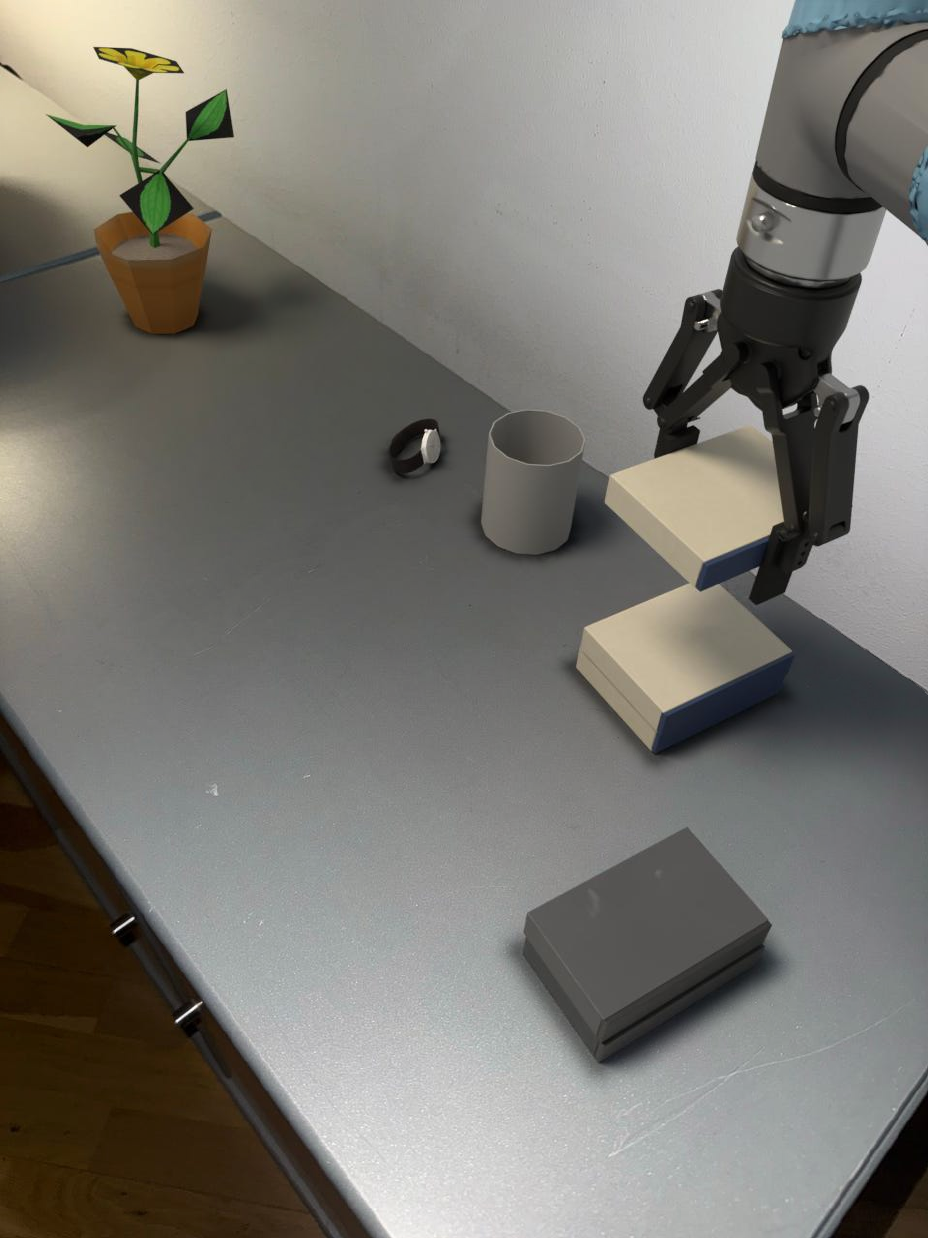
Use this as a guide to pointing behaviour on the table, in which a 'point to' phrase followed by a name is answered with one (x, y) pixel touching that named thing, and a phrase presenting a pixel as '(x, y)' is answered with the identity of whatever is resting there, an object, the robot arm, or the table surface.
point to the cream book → (704, 505)
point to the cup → (531, 481)
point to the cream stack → (682, 663)
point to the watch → (428, 448)
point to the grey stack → (643, 941)
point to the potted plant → (156, 213)
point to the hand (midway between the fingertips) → (713, 548)
